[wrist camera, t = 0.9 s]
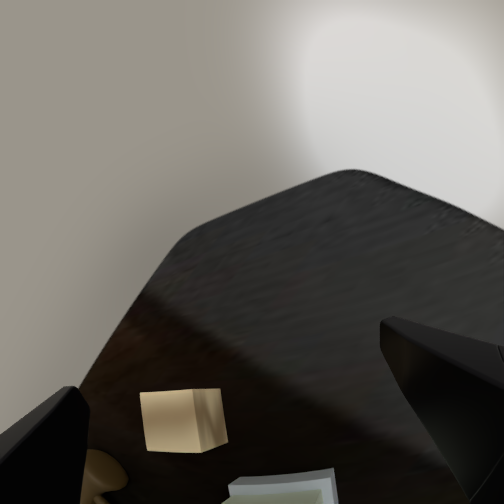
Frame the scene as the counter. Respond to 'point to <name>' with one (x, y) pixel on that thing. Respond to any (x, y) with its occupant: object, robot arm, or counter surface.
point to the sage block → (279, 498)
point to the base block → (288, 484)
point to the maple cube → (183, 420)
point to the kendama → (101, 477)
